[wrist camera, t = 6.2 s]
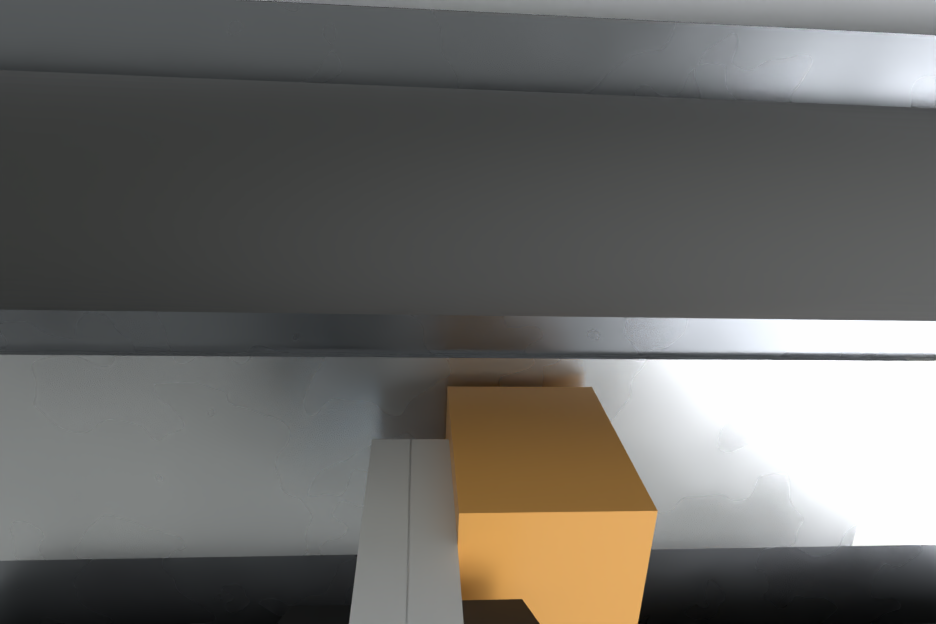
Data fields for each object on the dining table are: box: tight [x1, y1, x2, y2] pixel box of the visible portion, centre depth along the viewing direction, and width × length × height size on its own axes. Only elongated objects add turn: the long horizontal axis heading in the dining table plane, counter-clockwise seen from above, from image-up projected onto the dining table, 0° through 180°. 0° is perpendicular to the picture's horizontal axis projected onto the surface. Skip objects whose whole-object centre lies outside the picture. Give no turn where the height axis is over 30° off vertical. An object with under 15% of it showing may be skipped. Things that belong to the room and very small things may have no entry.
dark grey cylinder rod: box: [0, 70, 936, 321], centre depth 11 cm, size 28×4×4 cm, turn 88°
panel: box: [0, 0, 936, 624], centre depth 16 cm, size 26×18×2 cm
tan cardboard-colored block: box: [446, 386, 658, 624], centre depth 12 cm, size 3×4×4 cm
